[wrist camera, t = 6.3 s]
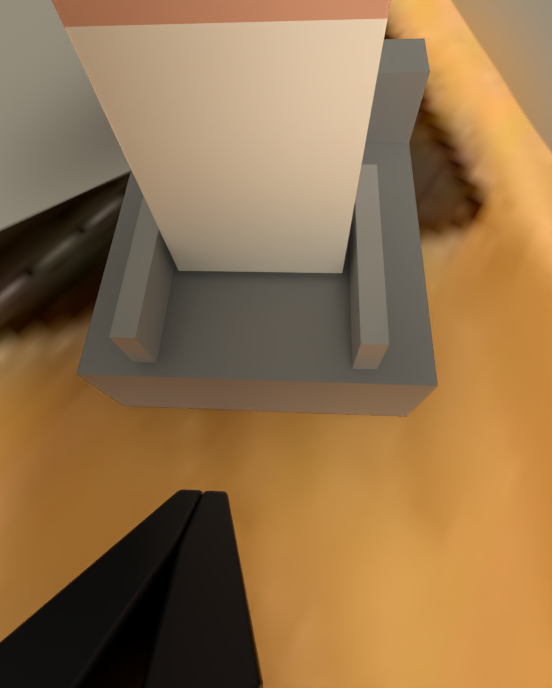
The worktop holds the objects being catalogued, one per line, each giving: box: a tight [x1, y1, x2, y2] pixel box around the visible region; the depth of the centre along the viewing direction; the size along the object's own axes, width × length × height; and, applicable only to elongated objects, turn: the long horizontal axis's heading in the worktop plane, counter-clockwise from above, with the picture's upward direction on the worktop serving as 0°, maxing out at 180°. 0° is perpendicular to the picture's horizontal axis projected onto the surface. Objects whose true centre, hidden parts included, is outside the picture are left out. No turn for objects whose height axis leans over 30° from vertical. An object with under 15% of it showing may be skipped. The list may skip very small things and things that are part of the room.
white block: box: [52, 0, 391, 273], centre depth 12 cm, size 5×6×9 cm
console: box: [77, 39, 437, 416], centre depth 17 cm, size 14×12×7 cm
